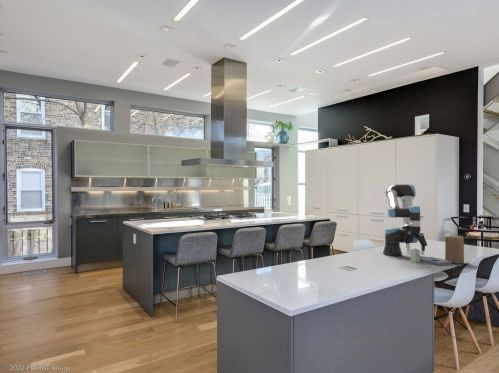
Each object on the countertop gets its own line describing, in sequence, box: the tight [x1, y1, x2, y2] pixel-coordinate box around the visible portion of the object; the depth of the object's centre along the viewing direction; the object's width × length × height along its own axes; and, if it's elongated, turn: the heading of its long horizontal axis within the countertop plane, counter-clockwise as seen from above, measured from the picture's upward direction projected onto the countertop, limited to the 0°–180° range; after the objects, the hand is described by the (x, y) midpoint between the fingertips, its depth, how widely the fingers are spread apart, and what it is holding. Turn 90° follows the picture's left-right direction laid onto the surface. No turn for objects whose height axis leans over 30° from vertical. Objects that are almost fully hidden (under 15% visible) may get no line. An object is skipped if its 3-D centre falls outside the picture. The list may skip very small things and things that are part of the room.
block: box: [444, 235, 465, 265], centre depth 263 cm, size 10×10×20 cm
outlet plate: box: [419, 256, 453, 267], centre depth 262 cm, size 18×14×2 cm
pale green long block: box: [410, 248, 421, 263], centre depth 265 cm, size 4×4×10 cm
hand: (415, 253), depth 265 cm, fingers open, 13 cm apart
